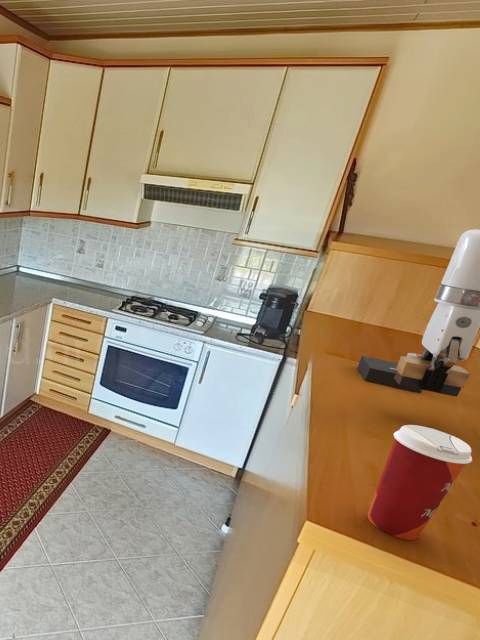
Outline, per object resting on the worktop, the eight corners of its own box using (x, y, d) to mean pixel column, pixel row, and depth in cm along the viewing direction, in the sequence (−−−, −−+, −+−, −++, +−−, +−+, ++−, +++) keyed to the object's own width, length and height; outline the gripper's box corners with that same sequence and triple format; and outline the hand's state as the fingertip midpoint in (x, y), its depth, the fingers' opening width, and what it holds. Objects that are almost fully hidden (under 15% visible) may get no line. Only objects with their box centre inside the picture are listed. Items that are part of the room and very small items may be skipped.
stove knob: (398, 368, 122) (406, 350, 120) (417, 372, 120) (425, 354, 118) (402, 372, 119) (410, 354, 117) (420, 376, 117) (429, 358, 116)
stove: (415, 380, 125) (421, 367, 124) (428, 395, 116) (435, 381, 115) (357, 367, 131) (362, 355, 129) (365, 381, 121) (370, 367, 120)
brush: (451, 389, 98) (462, 366, 96) (459, 397, 94) (470, 373, 93) (392, 377, 102) (400, 355, 101) (397, 384, 99) (406, 361, 97)
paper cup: (440, 553, 63) (491, 460, 58) (369, 534, 65) (413, 443, 60) (412, 516, 69) (456, 431, 64) (349, 500, 72) (387, 417, 67)
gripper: (509, 309, 83) (464, 405, 89) (472, 293, 97) (436, 377, 104) (452, 301, 87) (412, 394, 93) (424, 287, 101) (392, 368, 107)
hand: (425, 384), depth 98 cm, fingers closed on brush, 4 cm apart
